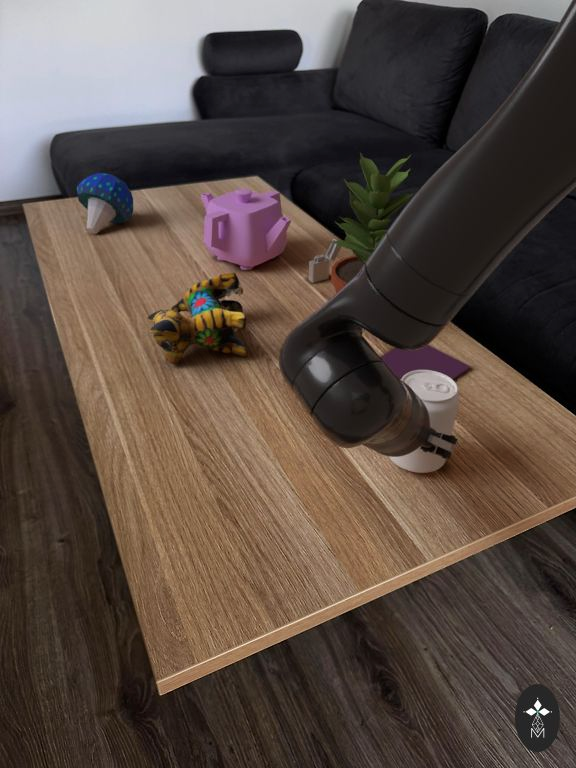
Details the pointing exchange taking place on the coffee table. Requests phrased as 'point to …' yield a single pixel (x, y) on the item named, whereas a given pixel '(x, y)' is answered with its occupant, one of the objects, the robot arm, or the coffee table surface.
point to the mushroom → (105, 200)
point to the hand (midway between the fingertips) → (415, 438)
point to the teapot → (245, 226)
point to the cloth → (423, 362)
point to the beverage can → (431, 415)
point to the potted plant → (368, 218)
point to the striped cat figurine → (202, 319)
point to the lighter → (322, 264)
